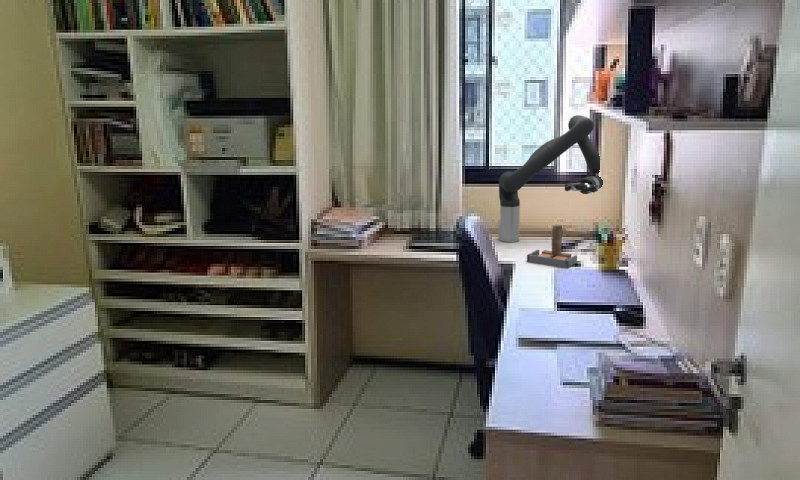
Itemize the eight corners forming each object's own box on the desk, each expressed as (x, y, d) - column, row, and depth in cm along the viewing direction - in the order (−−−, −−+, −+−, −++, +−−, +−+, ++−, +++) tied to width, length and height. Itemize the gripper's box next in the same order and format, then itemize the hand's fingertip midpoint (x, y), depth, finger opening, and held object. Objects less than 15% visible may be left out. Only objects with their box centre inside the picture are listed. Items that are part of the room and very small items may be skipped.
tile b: (551, 264, 244) (552, 258, 244) (556, 261, 248) (557, 255, 247) (563, 266, 241) (563, 260, 241) (568, 263, 245) (568, 257, 244)
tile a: (536, 261, 248) (536, 256, 248) (541, 258, 252) (542, 253, 252) (547, 263, 245) (547, 257, 245) (552, 260, 249) (552, 255, 248)
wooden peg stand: (541, 258, 252) (542, 224, 248) (544, 256, 254) (545, 223, 251) (568, 262, 245) (569, 227, 241) (571, 260, 247) (572, 226, 244)
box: (526, 261, 248) (527, 254, 247) (537, 256, 255) (537, 249, 255) (567, 268, 237) (567, 261, 236) (576, 262, 244) (577, 255, 244)
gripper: (574, 176, 279) (560, 180, 267) (604, 178, 271) (591, 182, 259) (573, 191, 281) (559, 196, 269) (603, 194, 273) (590, 199, 260)
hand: (575, 189), depth 264 cm, fingers open, 8 cm apart
